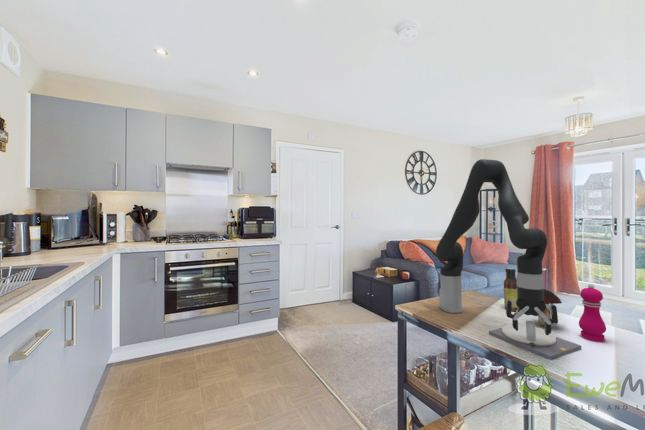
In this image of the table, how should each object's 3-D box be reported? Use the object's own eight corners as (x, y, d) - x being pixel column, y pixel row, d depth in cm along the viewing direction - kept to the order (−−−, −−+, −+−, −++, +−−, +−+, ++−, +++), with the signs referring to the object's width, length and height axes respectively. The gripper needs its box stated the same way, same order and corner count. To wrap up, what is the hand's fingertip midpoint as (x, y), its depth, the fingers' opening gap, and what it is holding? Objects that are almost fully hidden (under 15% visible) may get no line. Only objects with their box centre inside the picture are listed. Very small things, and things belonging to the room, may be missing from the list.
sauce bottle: (522, 312, 129) (521, 269, 129) (507, 311, 130) (506, 269, 130) (516, 307, 135) (515, 267, 135) (501, 307, 137) (500, 267, 137)
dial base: (489, 334, 107) (488, 330, 107) (517, 326, 113) (517, 323, 113) (550, 360, 87) (550, 355, 87) (581, 349, 94) (581, 345, 94)
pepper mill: (573, 334, 105) (572, 282, 105) (591, 333, 106) (589, 281, 106) (593, 343, 98) (592, 287, 98) (612, 341, 98) (610, 286, 98)
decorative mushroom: (550, 321, 118) (549, 286, 118) (569, 331, 107) (568, 293, 107) (522, 320, 120) (521, 285, 120) (538, 330, 109) (537, 292, 109)
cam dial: (500, 324, 113) (499, 306, 113) (549, 331, 105) (549, 312, 105) (504, 342, 97) (504, 322, 97) (563, 352, 89) (563, 330, 89)
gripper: (506, 286, 96) (508, 332, 96) (559, 290, 89) (560, 340, 89) (504, 281, 103) (505, 325, 103) (553, 285, 96) (554, 331, 96)
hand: (531, 332), depth 96 cm, fingers open, 8 cm apart
